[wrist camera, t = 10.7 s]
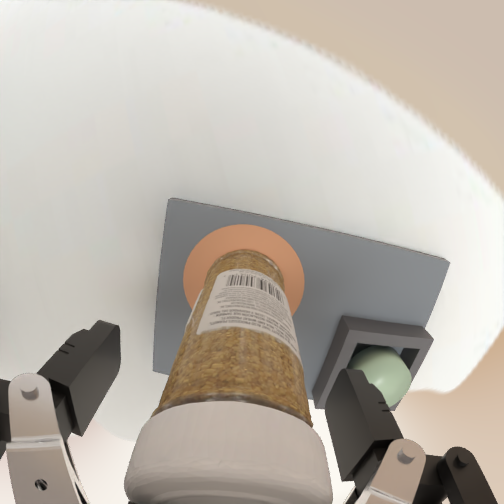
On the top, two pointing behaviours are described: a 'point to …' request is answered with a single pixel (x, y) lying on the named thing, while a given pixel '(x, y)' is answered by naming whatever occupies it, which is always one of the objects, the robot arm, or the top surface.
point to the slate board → (303, 287)
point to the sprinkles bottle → (233, 402)
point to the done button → (383, 371)
